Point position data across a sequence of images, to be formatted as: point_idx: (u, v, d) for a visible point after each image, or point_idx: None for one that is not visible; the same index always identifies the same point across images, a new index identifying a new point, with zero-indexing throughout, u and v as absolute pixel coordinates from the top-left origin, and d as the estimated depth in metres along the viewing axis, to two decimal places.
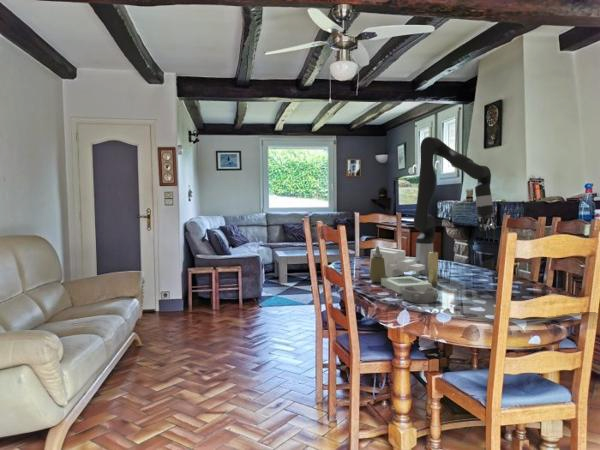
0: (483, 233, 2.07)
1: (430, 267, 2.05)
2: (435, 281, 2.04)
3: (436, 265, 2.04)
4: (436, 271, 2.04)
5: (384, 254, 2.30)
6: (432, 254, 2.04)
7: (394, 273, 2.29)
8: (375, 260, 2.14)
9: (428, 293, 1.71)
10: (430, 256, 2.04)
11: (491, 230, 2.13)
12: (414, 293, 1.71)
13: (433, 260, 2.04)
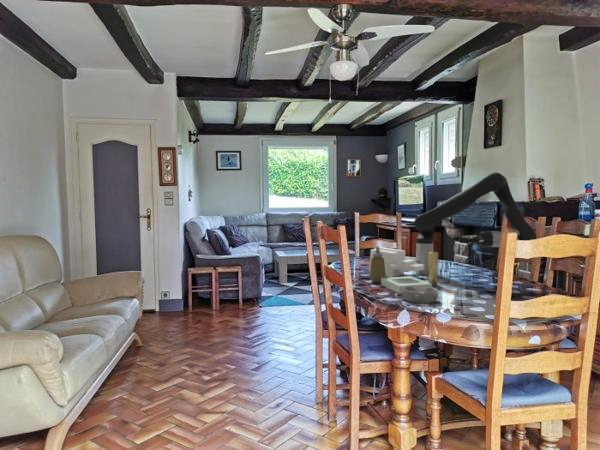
0: (465, 241, 1.99)
1: (430, 267, 2.05)
2: (435, 281, 2.04)
3: (436, 265, 2.04)
4: (436, 271, 2.04)
5: (384, 254, 2.30)
6: (432, 254, 2.04)
7: (394, 273, 2.29)
8: (375, 260, 2.14)
9: (428, 293, 1.71)
10: (430, 256, 2.04)
11: None
12: (414, 293, 1.71)
13: (433, 260, 2.04)
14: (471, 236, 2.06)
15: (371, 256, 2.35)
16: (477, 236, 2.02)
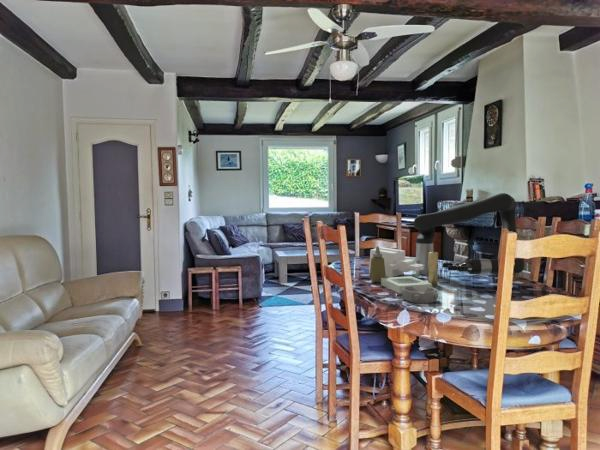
0: (453, 268, 2.01)
1: (430, 267, 2.05)
2: (435, 281, 2.04)
3: (436, 265, 2.04)
4: (436, 271, 2.04)
5: (383, 254, 2.30)
6: (432, 254, 2.04)
7: (393, 273, 2.29)
8: (375, 260, 2.14)
9: (428, 293, 1.71)
10: (430, 256, 2.04)
11: (449, 265, 2.10)
12: (414, 293, 1.71)
13: (433, 260, 2.04)
14: (460, 263, 2.07)
15: (371, 256, 2.35)
16: (466, 263, 2.04)
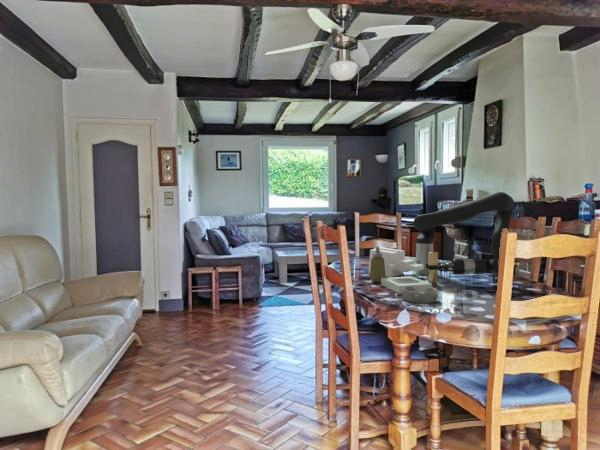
0: (434, 268, 2.03)
1: None
2: (435, 281, 2.04)
3: None
4: (436, 271, 2.04)
5: (383, 254, 2.30)
6: (432, 254, 2.04)
7: (393, 273, 2.29)
8: (375, 260, 2.14)
9: (428, 293, 1.71)
10: (430, 256, 2.04)
11: None
12: (414, 293, 1.71)
13: (433, 260, 2.04)
14: (444, 263, 2.07)
15: (370, 256, 2.35)
16: (449, 264, 2.04)
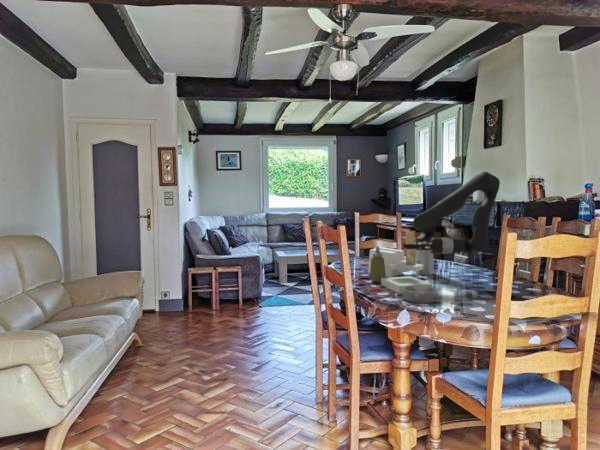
0: (411, 247, 1.96)
1: None
2: (413, 261, 1.98)
3: None
4: (413, 250, 1.98)
5: (383, 254, 2.30)
6: (409, 233, 1.97)
7: (393, 273, 2.30)
8: (375, 260, 2.14)
9: (428, 293, 1.71)
10: (407, 235, 1.98)
11: None
12: (414, 293, 1.71)
13: (410, 239, 1.97)
14: (422, 242, 2.00)
15: (370, 256, 2.35)
16: (426, 242, 1.97)
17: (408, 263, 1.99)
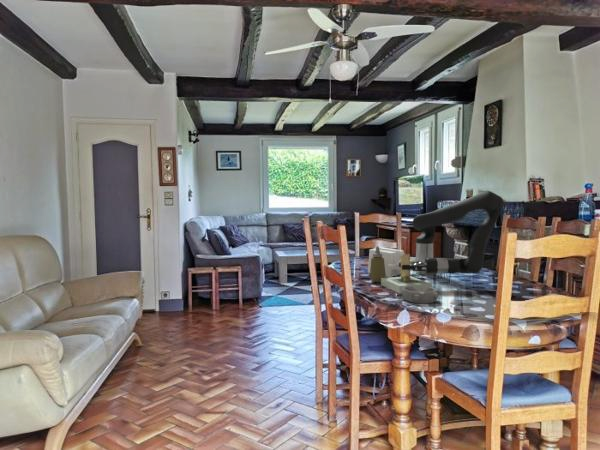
0: (407, 268, 1.95)
1: (402, 270, 1.98)
2: None
3: None
4: (408, 274, 1.98)
5: (382, 254, 2.30)
6: (404, 256, 1.97)
7: (392, 273, 2.30)
8: (375, 260, 2.14)
9: (428, 294, 1.71)
10: (402, 258, 1.98)
11: None
12: (414, 293, 1.71)
13: (405, 262, 1.97)
14: (417, 262, 2.01)
15: (370, 256, 2.36)
16: (422, 263, 1.97)
17: None
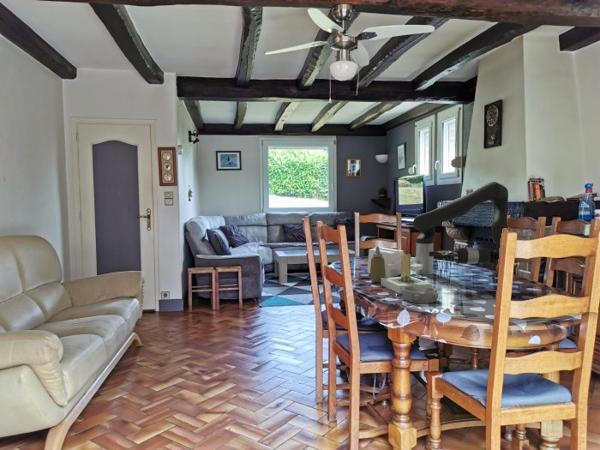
0: (439, 257, 1.94)
1: (403, 270, 1.98)
2: None
3: (408, 268, 1.98)
4: (409, 274, 1.98)
5: (382, 254, 2.30)
6: (404, 256, 1.97)
7: (392, 273, 2.30)
8: (375, 260, 2.14)
9: (428, 293, 1.71)
10: (402, 258, 1.98)
11: (436, 254, 2.03)
12: (414, 293, 1.71)
13: (405, 262, 1.97)
14: (446, 252, 2.00)
15: (369, 256, 2.36)
16: (452, 252, 1.97)
17: None
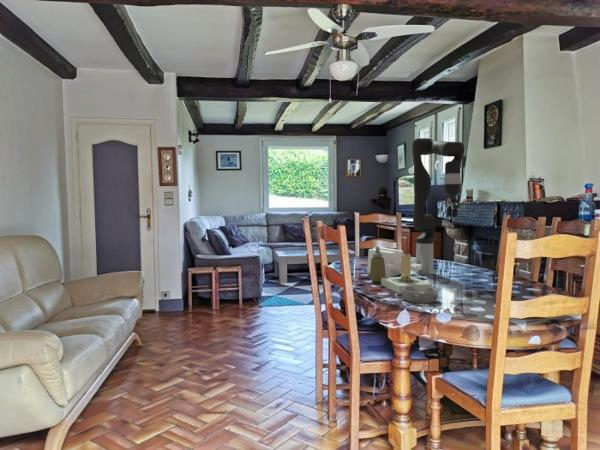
0: (456, 212, 2.01)
1: (403, 270, 1.98)
2: None
3: (409, 268, 1.98)
4: (409, 274, 1.98)
5: (382, 254, 2.31)
6: (404, 256, 1.97)
7: (391, 273, 2.30)
8: (375, 260, 2.14)
9: (428, 293, 1.71)
10: (402, 258, 1.98)
11: (449, 209, 2.11)
12: (414, 293, 1.71)
13: (405, 262, 1.97)
14: (448, 201, 2.08)
15: (369, 256, 2.36)
16: (450, 197, 2.04)
17: None
